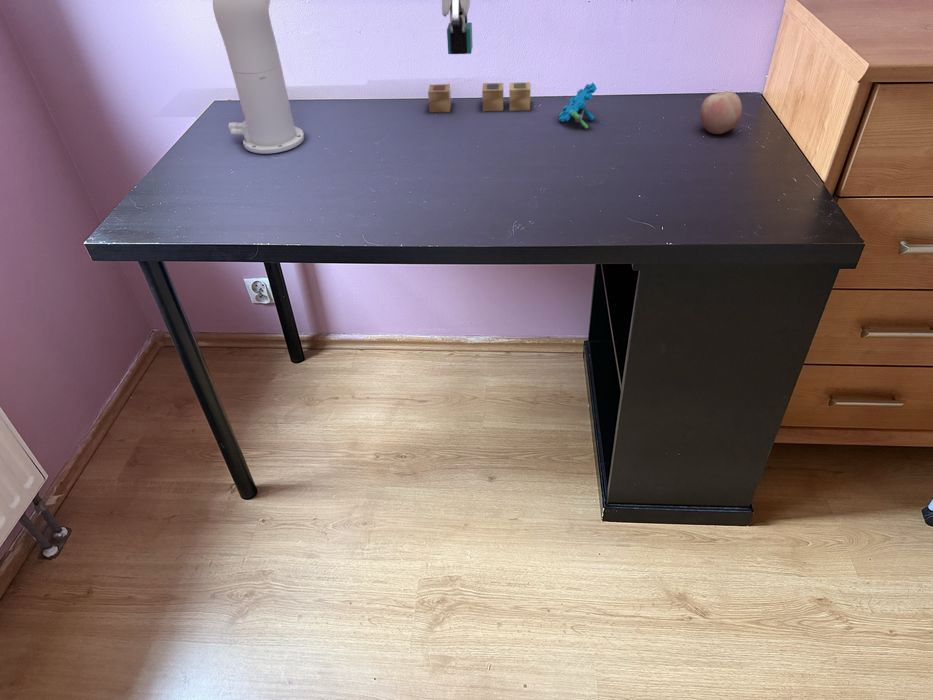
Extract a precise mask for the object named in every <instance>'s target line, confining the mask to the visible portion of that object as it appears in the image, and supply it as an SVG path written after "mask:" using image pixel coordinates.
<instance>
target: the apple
mask: <svg viewBox="0 0 933 700" xmlns="http://www.w3.org/2000/svg"><path fill="white" fill-rule="evenodd" d="M742 113H743V103H742V100H741V99H740V96H739V95H738V94H737V93H736V92H734V91H731V90H727V91H722V92H717V93H713V94H710V95H708V96H707V97H706V98H705V99H704V100H703V101H702V103H701V106H700V111H699V117H700V121H701V124H702V126H703V127H704V129H705V130H706V131H707V132H708V133H710V134H713V135H721V134H725V133H727V132H729V131H731V130H732V129H734V128H735V127H736V126H737V125H738V123H739V122H740V121H741V117H742Z"/></svg>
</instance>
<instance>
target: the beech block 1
mask: <svg viewBox="0 0 933 700" xmlns="http://www.w3.org/2000/svg"><path fill="white" fill-rule="evenodd" d="M451 93H452V91H451V84H450V83H447V84H446V83H444V84H443V83H442V84H441V83H440V84H429V87H428V91H427V96H428V110H429V113H451V109H452V94H451Z"/></svg>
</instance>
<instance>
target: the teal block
mask: <svg viewBox="0 0 933 700" xmlns="http://www.w3.org/2000/svg"><path fill="white" fill-rule="evenodd" d="M450 32H451V28H450V22H449V23H448V25H447V29H446V38H447V39H446V41H447V54H448V55H453V54H452V53H451V43H450ZM465 32H466V33H467V53H466V54H465V55H471V54H472V51H473V23H472V22H467V23H465Z"/></svg>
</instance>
